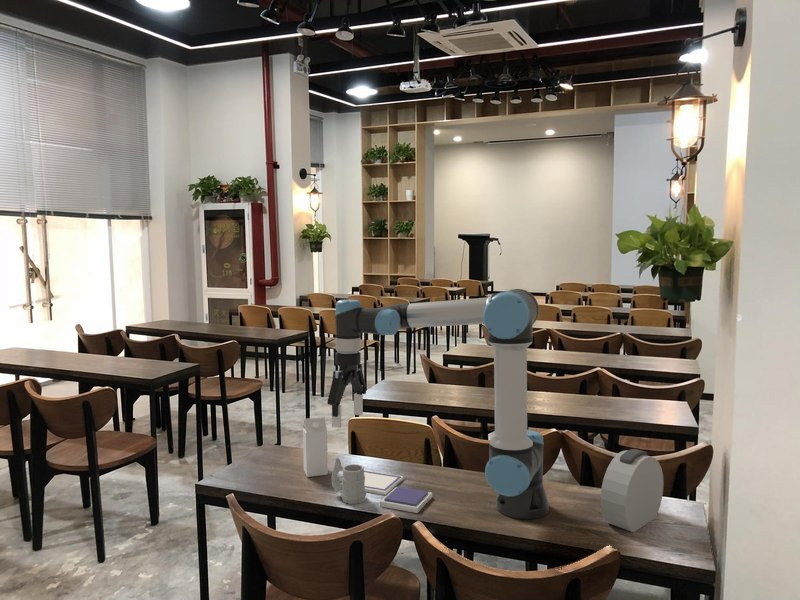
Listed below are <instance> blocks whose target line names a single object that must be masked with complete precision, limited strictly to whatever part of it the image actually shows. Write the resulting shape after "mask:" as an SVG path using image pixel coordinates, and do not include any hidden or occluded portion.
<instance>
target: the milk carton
mask: <svg viewBox="0 0 800 600" xmlns="http://www.w3.org/2000/svg"><path fill="white" fill-rule="evenodd" d="M327 429H328V428H327V423H326V418H325V417H324V416H323V417H313V418H311V417H310V418H304V419H303V425H302V446H303V447H302V449H303V450H302V451H303V453H302V454H303V471H304V473H305V475H306V477H307V478H310V477H318V476H326V475H329V471H328V470H329V467H328V458H329V457H328V430H327Z"/></svg>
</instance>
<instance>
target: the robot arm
mask: <svg viewBox="0 0 800 600" xmlns="http://www.w3.org/2000/svg"><path fill="white" fill-rule="evenodd" d="M539 315H540V306H539V303H538V300H537V299H536V297H535V296H534V294H532V293H531V292H530V291H528V290H526V289H520V288H515V289H510V290H507V291H506V290H505V291H501V292H497V293H495V292H494V293H491V294H490V295H489V297H479V298H464V299H451V300H439V301H436V300H435V301H425V302H412V303H394V304H393V305H392V304H391V305H388V306H382V307H378V308H377V307H376V308H375V307H374V308H373V307H372V308H371V307H363V306H362V303H361V300H358V299H340V300H339V299H338V301H336V303H335V313H334V316H335V339H334V343H335V351H336V352H335V355H334V357H335V358H334V359H335V361H334V362H335V364H336V366H338V367H339V369H338V370H333V371H332V372H333V373H332V381H331V384H330V389H329V393H328V397H327V402H326V403H327V405H329V406H331V427H332V428H333V427H334V428H340V429H341V427H342V404H341V402H342V399H343V396H344V393H345V390H346V388H347V386H349V384H350V385H351V387H352V388H353V390H354V392H355V393H353V415H354V416H363V411H364V410H363V401H364V400H363V399H364V398H363V397H364V395H366V394H367V384H366V381H365V376H364V371H363V364H362V363H361V352H360V351H361V349H362V348H361V347H362V345H361V334H370V335H379V336H380V335H381V336H394V335H396V334H397V332H398V331H399V329H413V328H427V327H428V328H430V327H432V328H433V327H446V326H447V327H448V326H449V327H450V326H452V327H453V326H465V325H467V326H468V325H484V326H485V329H486V330H487V335H488V337H487V341H488V344H489V345H491V347H492V348H493V367H494V369H493V374H494V375H493V378H494V379H493V380H494V383H493V384H494V386H493V387H494V391H493V392H494V435H493V436H492V437H491V438H490V440H489V443H488V445H489V446H488V447H489V451H488V452H489V453H488V454H489V459H488V461H487V462H486V465H485V469H484V475H485V479H486V483H487V484H488V486H489V487H490V488H491V489H493V491H494V492H496V493H497V495H496V497H495V508H496V510H497V511H498V512H500V514H503V515H504V516H507V517H510V518H515V519H521V520H531V519H532V520H534V519H539V518H542V517H545V516H546V515H547V514H548V513H549V506H550V505H549V500H548V496H547V493H546V490H545V487H544V483H543V482H544V481H543V480H544V479H543V476H544V472H543V471H544V468H543V467H544V445H545V443H544V437H543V434H541V433H540V432H538V431H535V430H530V429H528V372H527V369H528V364H527V363H528V361H527V360H528V355H527V354H528V353H527V352H528V351H527V349H528V348H529V346H530V345H532V343H533V338H534V337H533V330H534V329H533V326H534V324H535V323H536V321H537V319H538V318H539Z"/></svg>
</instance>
